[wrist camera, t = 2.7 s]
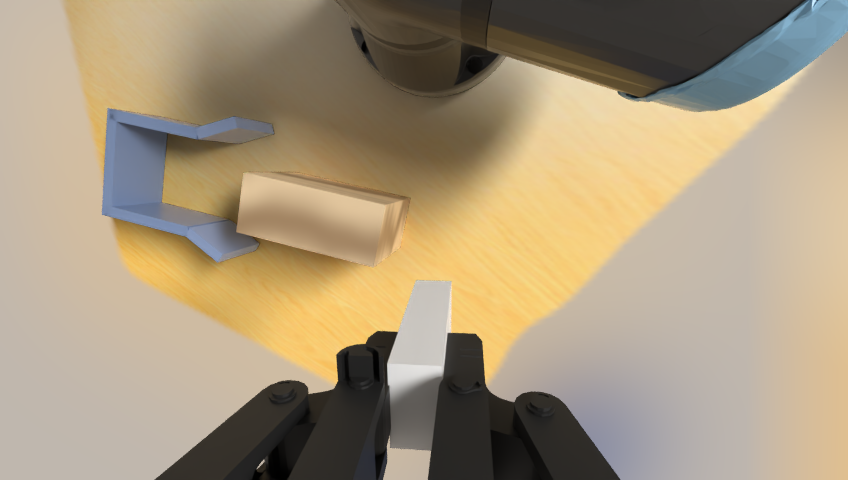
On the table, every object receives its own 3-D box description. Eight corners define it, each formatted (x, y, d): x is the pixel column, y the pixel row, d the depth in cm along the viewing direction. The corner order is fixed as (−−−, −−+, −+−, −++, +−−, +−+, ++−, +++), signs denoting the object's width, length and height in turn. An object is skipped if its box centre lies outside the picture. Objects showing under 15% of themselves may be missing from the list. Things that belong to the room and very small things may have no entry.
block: (297, 172, 42) (243, 172, 33) (410, 198, 40) (385, 205, 32) (290, 220, 43) (236, 232, 34) (400, 247, 41) (373, 267, 33)
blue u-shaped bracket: (161, 100, 43) (108, 89, 38) (275, 124, 42) (238, 117, 36) (151, 223, 46) (100, 231, 40) (258, 251, 44) (221, 263, 38)
